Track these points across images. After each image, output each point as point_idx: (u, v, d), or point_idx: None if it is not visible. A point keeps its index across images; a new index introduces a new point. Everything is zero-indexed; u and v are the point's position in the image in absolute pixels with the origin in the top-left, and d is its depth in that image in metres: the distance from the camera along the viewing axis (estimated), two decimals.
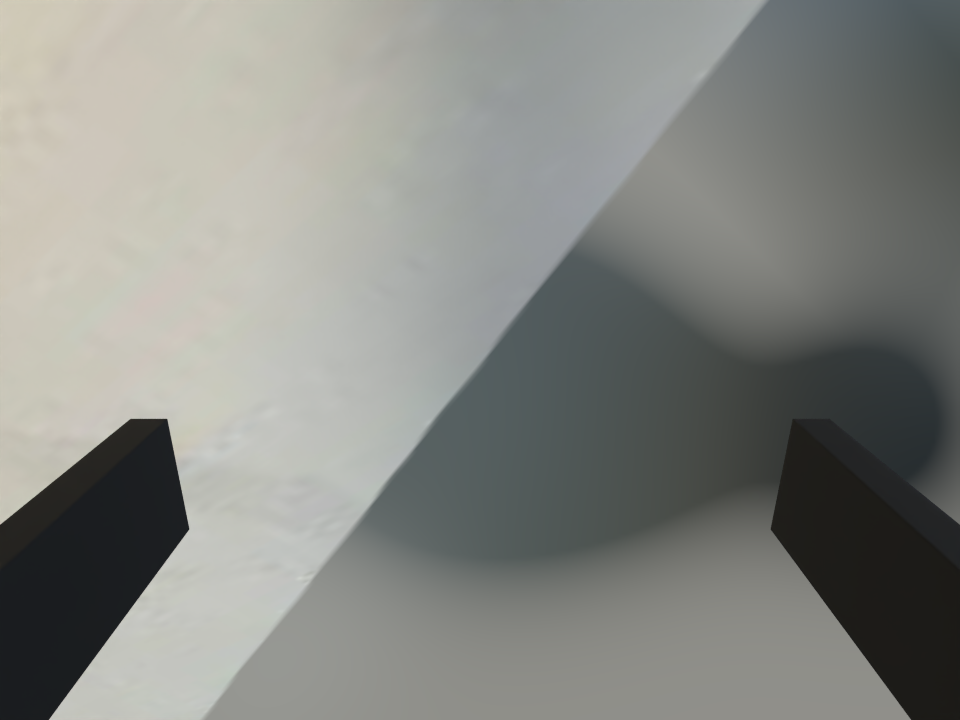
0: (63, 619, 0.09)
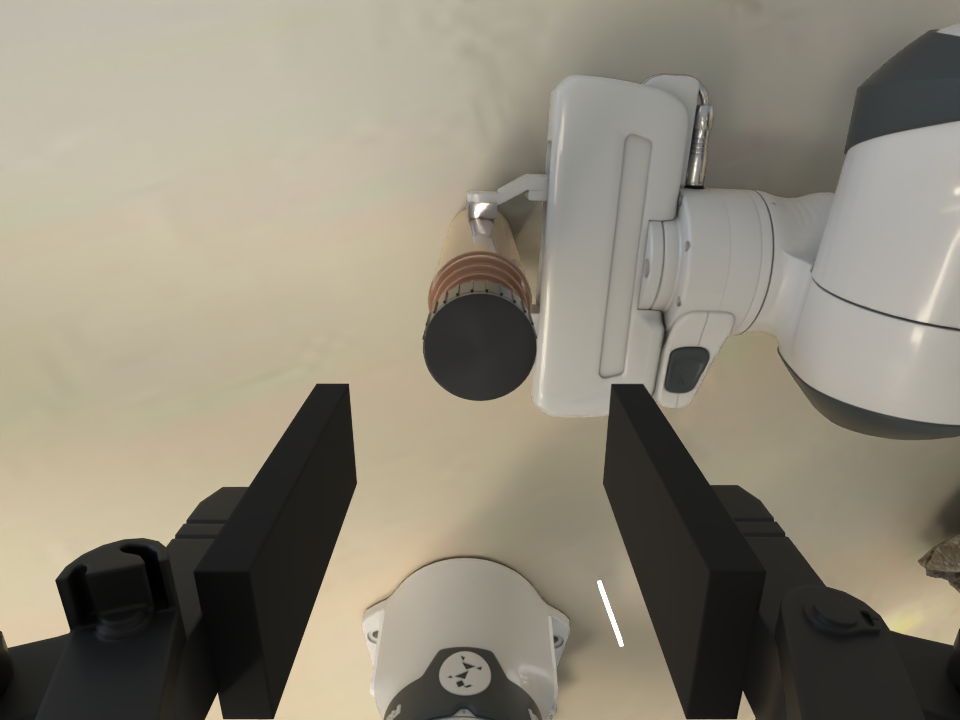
0: (312, 541, 0.11)
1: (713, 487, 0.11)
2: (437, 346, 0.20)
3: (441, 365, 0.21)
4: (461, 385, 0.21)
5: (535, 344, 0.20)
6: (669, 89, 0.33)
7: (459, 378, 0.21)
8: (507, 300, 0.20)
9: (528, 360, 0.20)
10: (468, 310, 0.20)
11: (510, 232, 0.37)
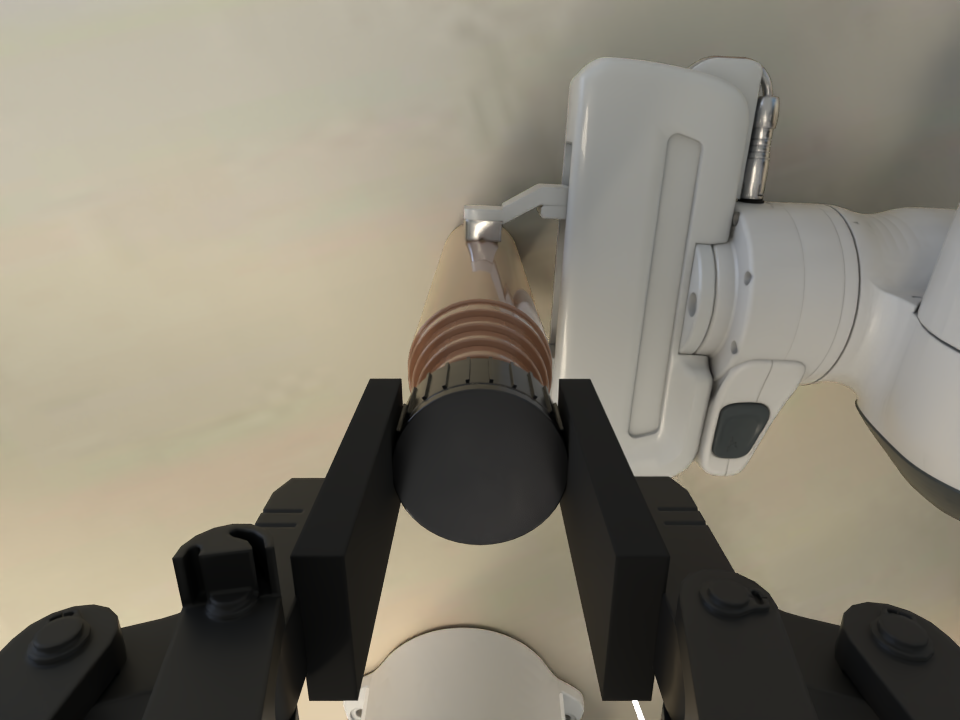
0: (380, 531, 0.11)
1: (644, 478, 0.11)
2: (413, 467, 0.13)
3: (420, 495, 0.13)
4: (451, 523, 0.13)
5: (567, 464, 0.13)
6: (724, 76, 0.26)
7: (448, 513, 0.13)
8: (524, 399, 0.12)
9: (556, 488, 0.13)
10: (462, 414, 0.13)
11: (518, 257, 0.29)
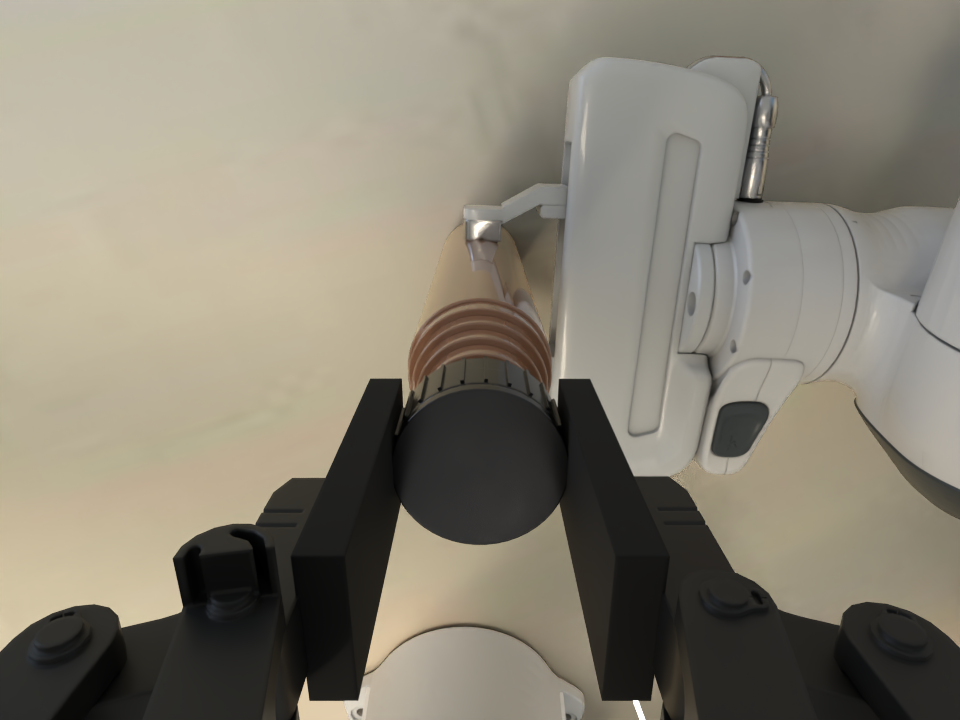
0: (380, 531, 0.11)
1: (644, 478, 0.11)
2: (462, 525, 0.13)
3: (494, 526, 0.13)
4: (533, 506, 0.13)
5: (490, 391, 0.12)
6: (722, 75, 0.26)
7: (521, 507, 0.13)
8: (410, 418, 0.13)
9: (515, 406, 0.12)
10: (415, 475, 0.13)
11: (518, 256, 0.29)
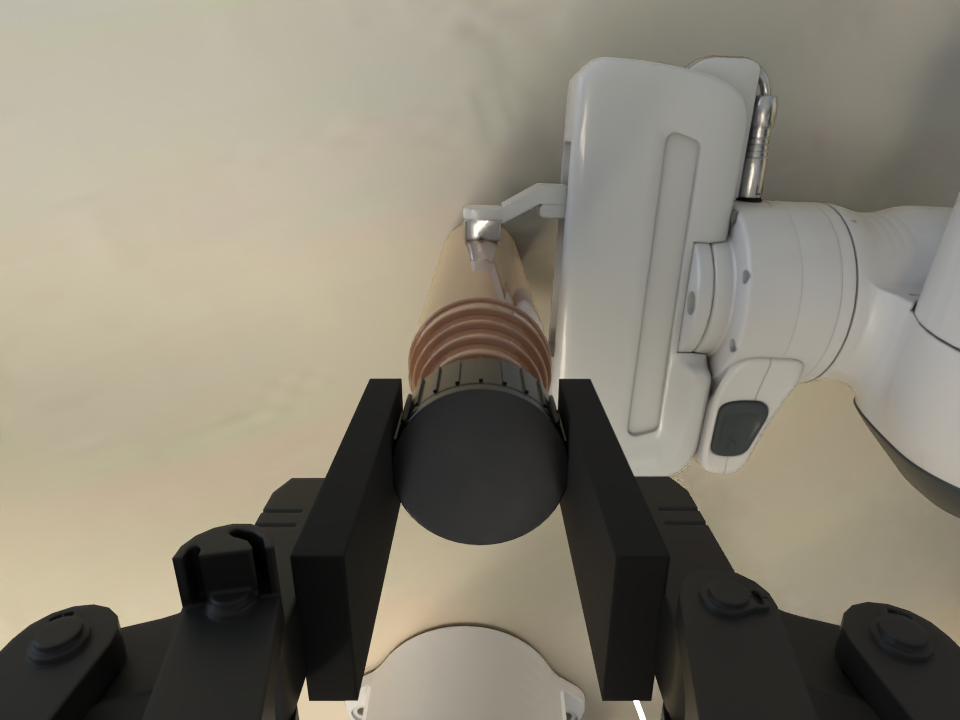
0: (380, 532, 0.11)
1: (644, 478, 0.11)
2: (538, 497, 0.13)
3: (547, 470, 0.13)
4: (533, 430, 0.13)
5: (395, 447, 0.13)
6: (721, 75, 0.26)
7: (530, 442, 0.13)
8: (412, 516, 0.13)
9: (415, 429, 0.13)
10: (471, 525, 0.13)
11: (517, 256, 0.30)
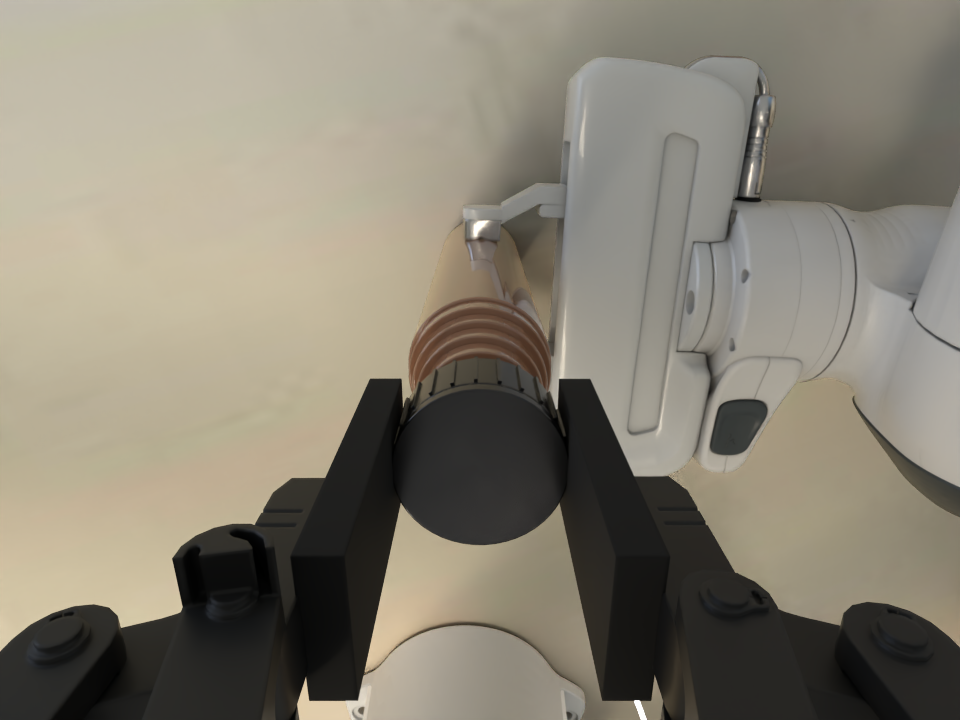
0: (380, 532, 0.11)
1: (644, 478, 0.11)
2: (523, 424, 0.13)
3: (493, 411, 0.12)
4: (445, 417, 0.13)
5: (438, 534, 0.14)
6: (720, 75, 0.26)
7: (457, 421, 0.13)
8: (517, 536, 0.14)
9: (422, 516, 0.13)
10: (540, 490, 0.13)
11: (517, 255, 0.30)
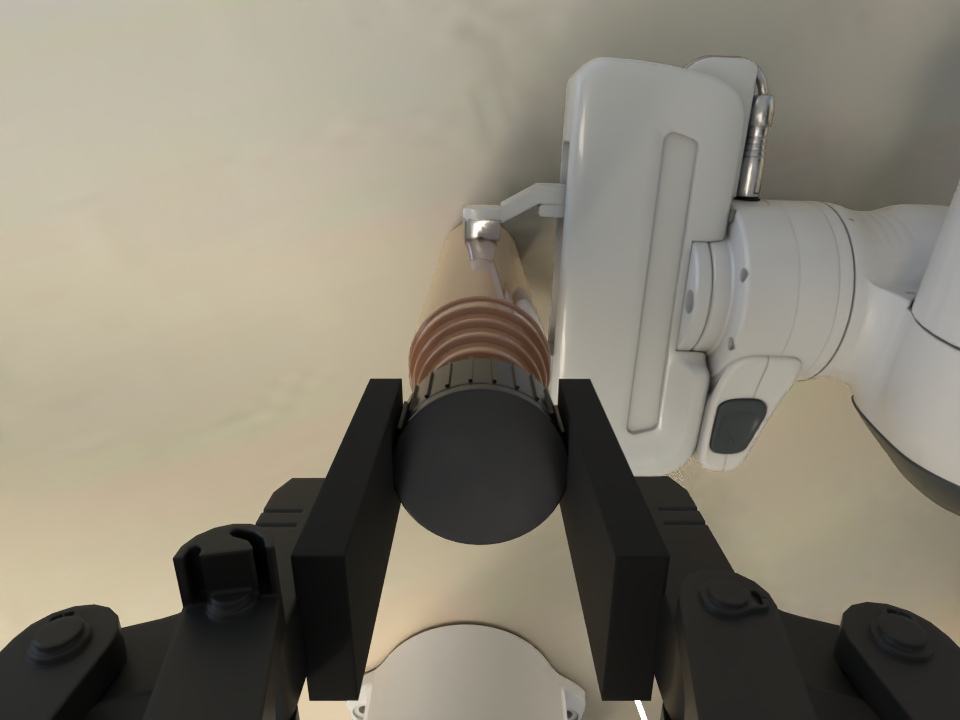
0: (380, 532, 0.11)
1: (644, 478, 0.11)
2: (436, 424, 0.13)
3: (417, 448, 0.13)
4: (415, 488, 0.13)
5: (543, 520, 0.13)
6: (719, 75, 0.26)
7: (421, 480, 0.13)
8: (566, 450, 0.13)
9: (517, 529, 0.13)
10: (515, 421, 0.13)
11: (517, 255, 0.30)
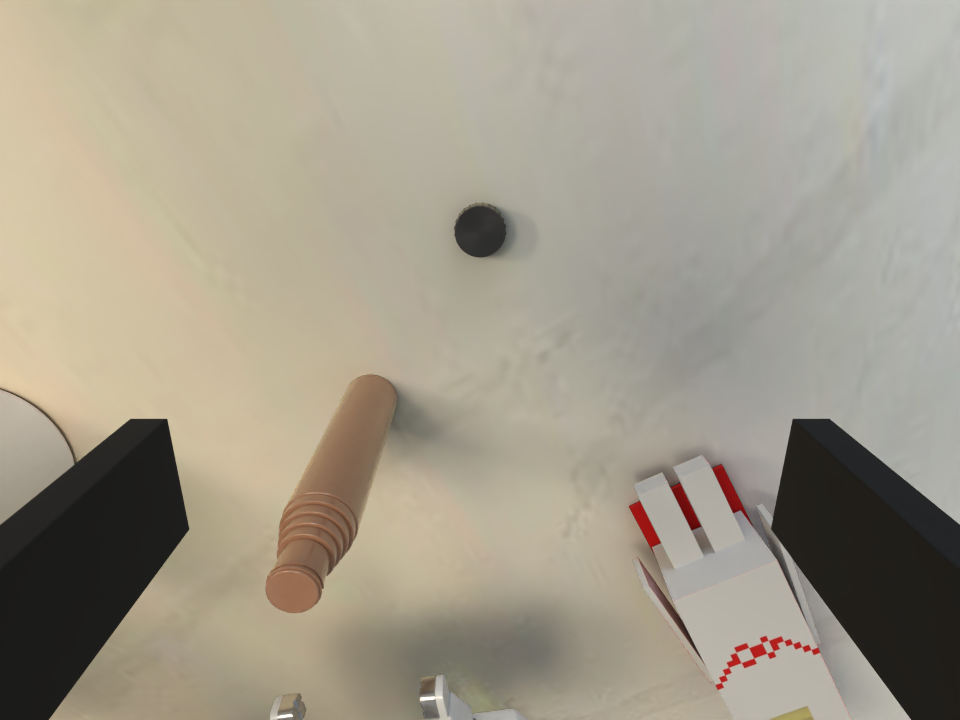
0: (63, 618, 0.09)
1: None
2: (463, 240, 0.46)
3: (469, 247, 0.46)
4: (482, 251, 0.46)
5: (500, 216, 0.45)
6: None
7: (479, 248, 0.46)
8: (478, 206, 0.45)
9: (501, 225, 0.45)
10: (466, 219, 0.45)
11: None
